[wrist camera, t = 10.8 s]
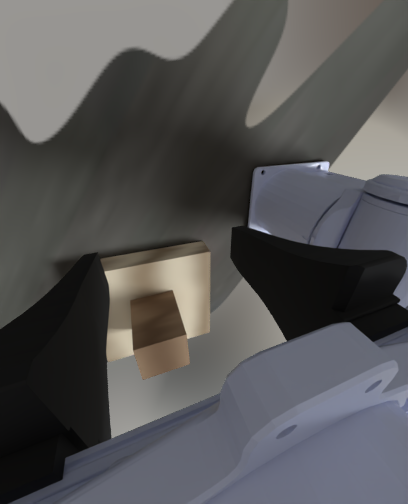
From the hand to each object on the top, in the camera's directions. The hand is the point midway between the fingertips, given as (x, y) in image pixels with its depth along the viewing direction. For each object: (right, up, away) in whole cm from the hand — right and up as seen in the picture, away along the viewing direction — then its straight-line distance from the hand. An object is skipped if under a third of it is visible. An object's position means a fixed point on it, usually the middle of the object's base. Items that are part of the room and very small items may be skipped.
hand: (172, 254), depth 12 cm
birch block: (-5, -5, +15) cm, 16 cm away
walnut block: (-4, -6, +12) cm, 14 cm away
